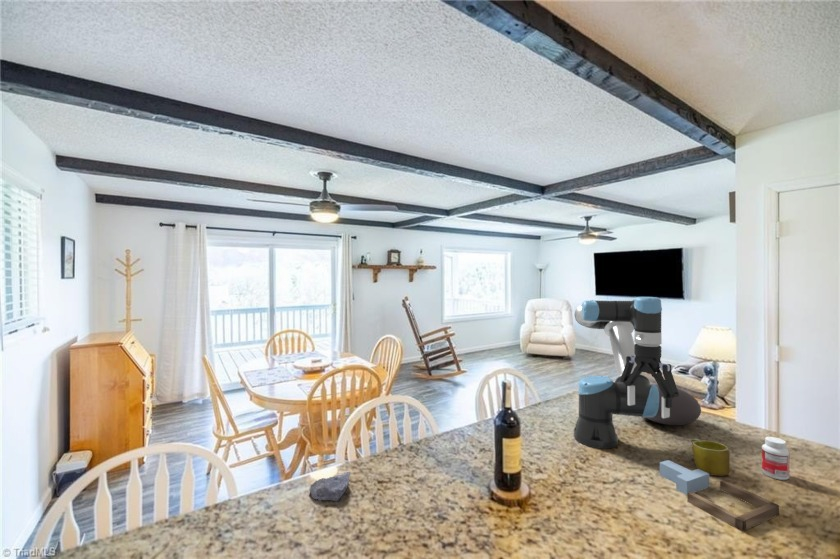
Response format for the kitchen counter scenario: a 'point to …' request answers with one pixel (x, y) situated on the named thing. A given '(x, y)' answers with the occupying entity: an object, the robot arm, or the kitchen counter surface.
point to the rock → (330, 487)
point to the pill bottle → (775, 458)
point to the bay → (741, 522)
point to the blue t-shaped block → (684, 477)
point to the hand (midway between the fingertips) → (647, 410)
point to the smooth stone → (678, 409)
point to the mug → (711, 457)
